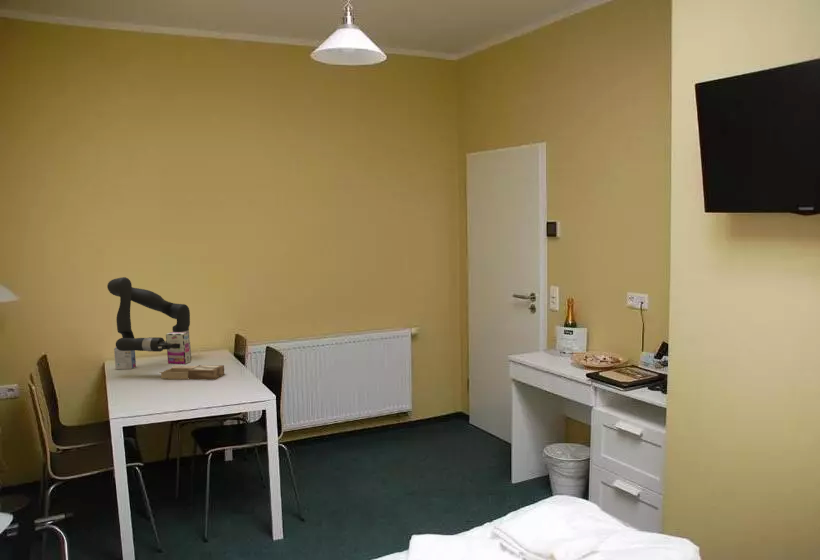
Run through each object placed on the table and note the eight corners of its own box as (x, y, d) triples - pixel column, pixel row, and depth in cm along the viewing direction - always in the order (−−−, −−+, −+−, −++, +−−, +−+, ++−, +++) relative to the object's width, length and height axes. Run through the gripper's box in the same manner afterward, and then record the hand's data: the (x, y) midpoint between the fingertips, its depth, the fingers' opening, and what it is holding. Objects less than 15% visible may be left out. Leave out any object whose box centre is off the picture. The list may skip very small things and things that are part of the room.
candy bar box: (191, 362, 346) (189, 332, 344) (185, 364, 341) (183, 334, 339) (173, 361, 349) (171, 331, 347) (167, 363, 344) (165, 333, 342)
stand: (200, 373, 350) (199, 364, 349) (224, 374, 347) (223, 365, 347) (188, 379, 338) (188, 370, 338) (213, 379, 336) (213, 370, 335)
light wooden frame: (173, 372, 354) (172, 365, 353) (200, 373, 351) (199, 366, 351) (159, 379, 340) (158, 372, 340) (186, 379, 337) (186, 372, 337)
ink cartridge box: (136, 366, 371) (134, 341, 370) (132, 369, 366) (130, 343, 364) (119, 367, 372) (117, 342, 370) (115, 369, 366) (113, 344, 365)
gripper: (145, 340, 339) (174, 340, 336) (160, 334, 353) (189, 335, 350) (146, 354, 340) (175, 354, 337) (161, 348, 354) (190, 348, 351)
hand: (182, 344), depth 344 cm, fingers closed on candy bar box, 5 cm apart
